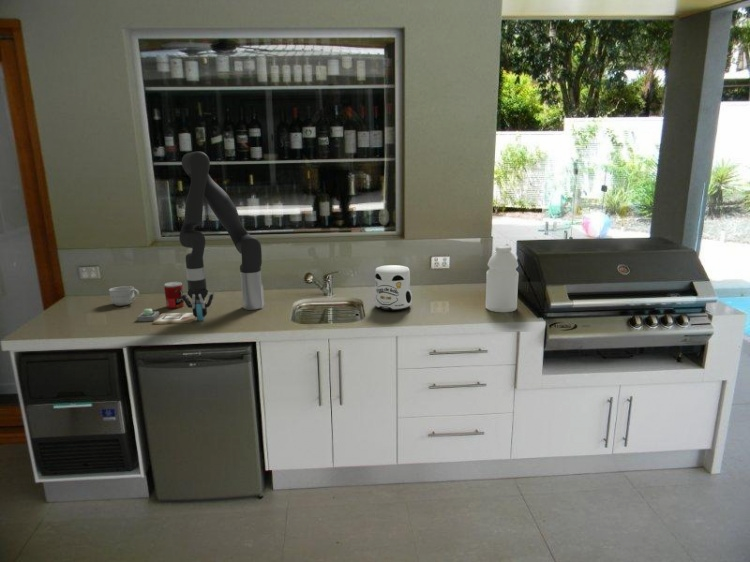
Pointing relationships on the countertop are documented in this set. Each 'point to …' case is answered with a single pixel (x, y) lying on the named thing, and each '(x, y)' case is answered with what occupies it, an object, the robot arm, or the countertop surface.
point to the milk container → (392, 287)
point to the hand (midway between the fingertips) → (200, 316)
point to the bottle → (502, 281)
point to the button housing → (148, 317)
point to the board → (174, 318)
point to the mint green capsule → (148, 312)
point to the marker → (199, 310)
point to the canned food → (174, 295)
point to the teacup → (123, 295)
